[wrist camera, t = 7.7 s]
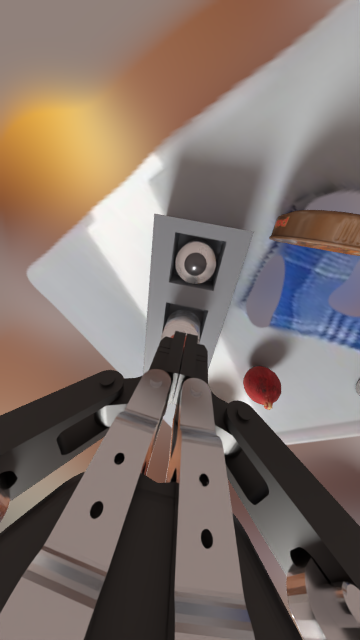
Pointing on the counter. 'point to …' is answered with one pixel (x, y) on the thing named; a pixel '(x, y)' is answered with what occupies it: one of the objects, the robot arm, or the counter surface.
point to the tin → (320, 230)
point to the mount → (180, 295)
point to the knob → (196, 261)
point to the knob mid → (182, 324)
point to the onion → (262, 386)
